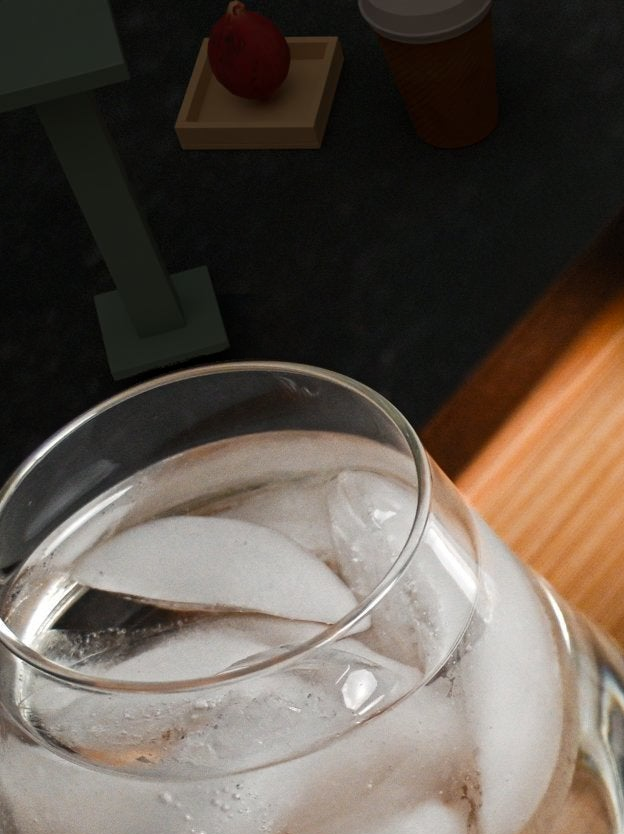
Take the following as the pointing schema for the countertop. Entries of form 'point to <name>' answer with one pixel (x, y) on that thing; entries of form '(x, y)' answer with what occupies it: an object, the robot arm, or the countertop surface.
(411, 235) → the countertop surface
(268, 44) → the onion
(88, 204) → the stand
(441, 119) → the disposable coffee cup
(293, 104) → the tray
